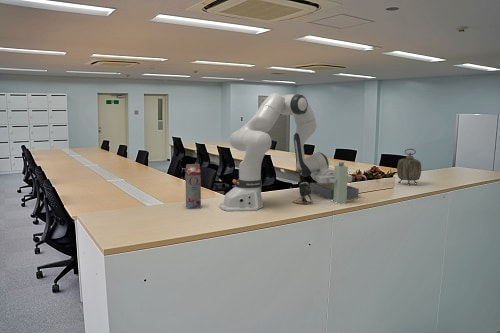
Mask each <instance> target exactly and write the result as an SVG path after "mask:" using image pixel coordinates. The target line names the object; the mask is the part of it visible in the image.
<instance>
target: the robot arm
mask: <svg viewBox="0 0 500 333" xmlns="http://www.w3.org/2000/svg"><path fill="white" fill-rule="evenodd" d="M282 115H283V116H293V117H294V122H295V126H296V128H295V133H294V134H293V145H294V154H295V167H296V168H295V170H296V169H297V167H300V168H301V169H302V171H301V174H300V177H301V176H302V177H309V176H310V177H311V178H312V179H313V180H314V181H315V182H316V183H317V182H318V183H323V184H326V185H332V184H334V183H337V179H334V172H335V169H334V170H333V169H329V164H330V162H329V160H328V157H327V156H326V155H325V154H324V153H322V152H320V151H317V152H315V153H313V154H310V155H309V156H307V157H305V148H304V145H305V143H306V142H307V141H308V139H309V138H310V137H311V136H312V135H313V134H314V133H315V132H316V129H317V121H316V117H315V113H314V110H313V109H312V106H311V105H310V103H309V102H308V100H307V98H306V96H305V95H303V94H300V93H299V94H297V93H296V94H292V93H291V94H289V93H288V94H287V93H286V94H283V95H281V94H280V93H279V92H278V93H277V92H272V93H270V94H269V95H268V96H267V97H266V98H265V99H264V100H263V102H261V104H260V106H259V107H258V108H257V110H256V111H255V113H254V115H253V116H252V118H250V119H249V121H247V122H246V123H245V124H244V125H243V126H242V127H241V128H239V129H238V130H235V131H234V132H232V134H231V135H230V139H229V141H230V142H229V143H230V145H231V148H234V149H235V150H237V151H239V152H245V154H244V157H243V160H242V161H240V162H239V165H238V179H232V183H233V184H234V187H233V188H232V189H230V190H229V191H228V192H226V193H225V195H224V199H223V202H222V203H219V208H220V209H221V210H222V211H227V212H235V211H236V212H237V211H238V212H242V211H249V212H250V211H258V210H259V209H262V208H263V207H264V204H263V198H262V187H263V186H262V179H261V176H262V175H261V174H262V173H261V172H262V162H263V159H264V156H266V154H267V152H268V151H269V150H270V149H271V148H272V137H271V136H270V135H269V134H268V132H269V131H271V129H272V128H273V127H274V126H275V123H276V122H277V120H278V119H279V117H280V116H282ZM351 182H353V176H352V174H350V173H348V176H347V183H351Z"/></svg>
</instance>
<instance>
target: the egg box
mask: <svg viewBox="0 0 500 333" xmlns="http://www.w3.org/2000/svg"><path fill="white" fill-rule="evenodd" d="M315 183H316V185H319V186H322V187H324V188H327V189H330V190H334V184H332V185H326V184H323V183H318V182H317V181H316V182H315Z"/></svg>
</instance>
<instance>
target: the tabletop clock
mask: <svg viewBox="0 0 500 333" xmlns="http://www.w3.org/2000/svg"><path fill="white" fill-rule="evenodd" d="M410 150H411V151H413V152H414V153H411V152H409V153H407V152H406V151H410ZM404 154H405V155H407V156H406V157H405V158H401V159H399V160H398V161H397V166H396V173H397V177H398V178H399V179H400V180H398V182H397V183H398V184H399V183H400V184H401V181H407V182H408V183H407V185H408V184H410V181H414V184H415V183H417V184H418V182H417V181H418V180H419V179H420V178H421V175H422V163H421V161H420V160H418V159H415V157H414V156H413V155H415V154H416V149H414V148H407V149H405V150H404ZM410 185H411V184H410Z"/></svg>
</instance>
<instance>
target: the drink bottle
mask: <svg viewBox="0 0 500 333" xmlns="http://www.w3.org/2000/svg"><path fill="white" fill-rule="evenodd" d="M334 171H335V172H334V179H337V183H334V198H333V199H332V200H333V201H334V202H333V201H332V202H333V203H335V202H337V203H345V204H347V201H348V200H347V199H348V198H347V185H348V182H347V176H348V174H349V173H348V171H349V167H348V166H347V165H345V162H343V161H339V162H338V165H334ZM337 203H336V204H337Z"/></svg>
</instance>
